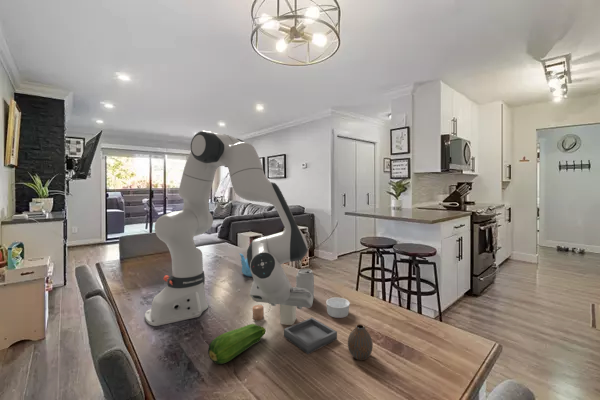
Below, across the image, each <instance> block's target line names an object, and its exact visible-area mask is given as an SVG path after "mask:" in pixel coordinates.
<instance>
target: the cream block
mask: <svg viewBox="0 0 600 400" xmlns="http://www.w3.org/2000/svg"><path fill="white" fill-rule="evenodd" d="M279 316H280V317H279V319H280V320H279V321H280V324H281V325H288V326H292V325H295V322H296V320H297V306H290V305H281V304H279Z"/></svg>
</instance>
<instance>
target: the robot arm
mask: <svg viewBox="0 0 600 400" xmlns="http://www.w3.org/2000/svg"><path fill="white" fill-rule="evenodd" d="M220 167H224V168H227V169H228V172H229V178H230V182H231V186H232V188H233V191H234V193H235V194H236V195H237V196H238V198H241V199H243V200H245V201H249V202H257V203H258V202H259V203H267V204H270V205H271V206H274V208H275V209H276V211H277V213H278V216H279V217H280V220H281V222H282V224H283V227H284V230H283V231H280V232H277V233H273V234H269V235H265V236H262V237H258V238H255V239H253V240H252V241H251V242H250V244H249V245H248V248H247V250H246V258H247V261H248V265H249V268H250V270H251V274H252V279H253V281H252V284H251V288H250V291H249V296H250V298H251V299H252V300H253V301H255V302H257V303H265V304H269V305H271V306H272V307H276V306H277V305H280V304H281V305H290V306H296V309H297V310H298V309H299V310H302V309H303V308H312V306H313V301H314V298H313V296H312V294H311V293H310V292H309V291H308V290H307V289H304V288H296V286H295V287H293V286H292V283H291V281H290V280H289V278H288V276H287V274H286V273H285V270H284V268H283V266H282V265H283V264H287V263H291V262H297V261H301V260H303V259H304V258H305V256H306V255H307V253H308V249H309V246H308V241H307V239H306V238H307V237H306V236H305V235H304V233H303V232H302V231H301V229H300V228H299V226H298V223H297V222H296V220H295V218H294V216H293V215H294V214H293V213H292V211H291V208H290V206H289V204H288V202H287V200H286V198H285V197H284V194H283V193H282V191H281V189H280V187H279V186H278V184H277V183H275V182H272V181H270V180H269V179H268V178H267V176H266V175H265V172H264V168H263V165H262V162H261V159H260V157H259V154H258V152H257V150H256V149H255V146H253V144H252V143H249V142H247V141H244V140H242V139H240V138H237V137H233V136H231V135H229V134H225V133H217V132H213V131H211V130H208V131H207V130H202V131H198V132H196V133H195V134H194V135H193V137H192V139H191V141H190V152H189V154H188V157H187V159H186V161H185V165H184V169H183V171H182V175H181V179H180V183H179V188H178V194H179V196H180V198H181V199H182V200H183V208H182V209H181V210H175V211H170V212H167V213H165V214H163V215H161V216H160V217H158V218H157V219H156V221H155V223H154V232H155V235H156V238H158V239H159V240H160V241H162V243H164V244H165V245H166V246H167V248H168V250H169V254H170V257H171V269H172V274H171V275H170V276H169V275H166V274H165V275H164V277H163V278H162V279H163V280H164V281H165V282H166V284H167V286H165V287H164V288H163V289H162V290H161V291H160V292H159V293H157V294H156V295H155V296H154V297H153V299H152V302H151V307H150V308H149V309H148V310H146V311H145V313H144V320H145V321H146V323H147V324H148V325H150V326H154V327H159V326H163V325H167V324H172V323H177V322H181V321H185V320H189V319H194V318H199V317H200V316H201V315H202V313H203V312H204V311H206V310H207V309H208V307H209V302H208V300H207V295H206V290H205V284H206V283H205V282H206V281H205V280H206V279H205V278H206V277H205V275H206V274H205V271H204V261H203V252H202V250H201V249H199V248H197V247H196V245H195V240H194V237H197V236H200V235H203V234H204V233H206V232H207V231H209V230H210V229H211V228H212V227H213V223H214V218H213V215H212V213H211V212H210V207H209V203H210V201H209V200H210V195H211V192H212V187H213V183H214V180H215V175H216V171H217V169H219V168H220Z"/></svg>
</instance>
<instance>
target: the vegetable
mask: <svg viewBox="0 0 600 400" xmlns="http://www.w3.org/2000/svg"><path fill="white" fill-rule="evenodd" d="M265 334H266V328H264V326H261V325H258V324H255V323H251V324H247V325H244V326H242V327H239V328H236V329H232V330H228V331H227V332H224V333H221V334H220V335H218V336H216V337H215V338H213V339H212V340H211V341H210V343H209V344H208V348H207V349H208V350H207V354H208V356H209V359H210V360H211V362H212V363H215V364H217V365H223V364H226V363H228V362H230V361H232V360H233V359H235V358H237V356H238V355H240V354H241V353H243V352H244V351H246V350H247V349H249V348H250V347H252V346H253V345H254V344H257V343H259V342H261V339H262V338H263V336H264V335H265Z"/></svg>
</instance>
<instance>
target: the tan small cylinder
mask: <svg viewBox="0 0 600 400" xmlns="http://www.w3.org/2000/svg"><path fill="white" fill-rule="evenodd" d="M264 315H265V311H264V305H261V304H256V305H253V306H252V320H254V321H256V320H257V322H258V321H262V320H264V318H265V316H264Z"/></svg>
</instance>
